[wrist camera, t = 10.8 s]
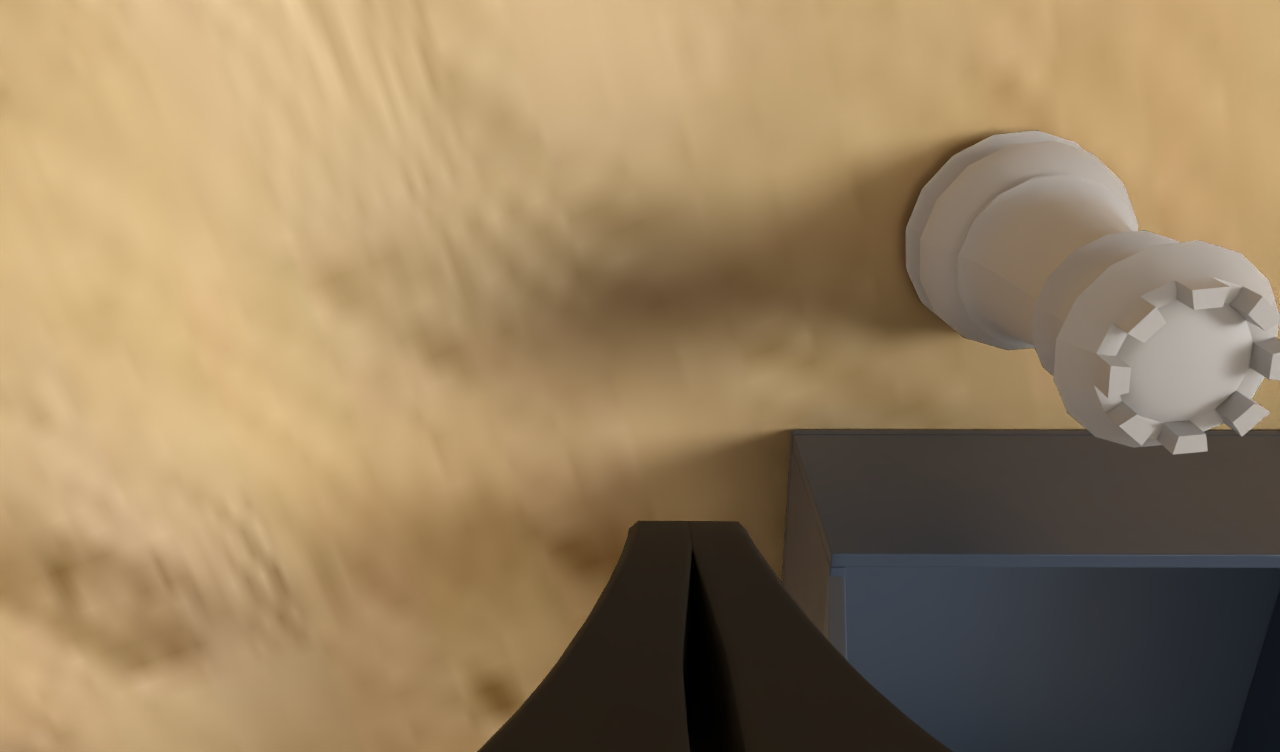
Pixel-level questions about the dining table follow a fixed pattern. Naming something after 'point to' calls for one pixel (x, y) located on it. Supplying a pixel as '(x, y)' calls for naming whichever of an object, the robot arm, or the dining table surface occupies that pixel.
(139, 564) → the dining table surface
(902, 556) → the carton
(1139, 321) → the rook chess piece
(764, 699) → the robot arm
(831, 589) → the flap
